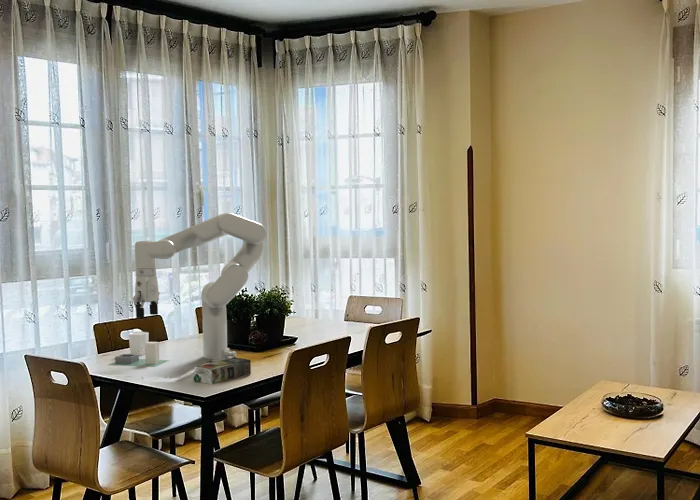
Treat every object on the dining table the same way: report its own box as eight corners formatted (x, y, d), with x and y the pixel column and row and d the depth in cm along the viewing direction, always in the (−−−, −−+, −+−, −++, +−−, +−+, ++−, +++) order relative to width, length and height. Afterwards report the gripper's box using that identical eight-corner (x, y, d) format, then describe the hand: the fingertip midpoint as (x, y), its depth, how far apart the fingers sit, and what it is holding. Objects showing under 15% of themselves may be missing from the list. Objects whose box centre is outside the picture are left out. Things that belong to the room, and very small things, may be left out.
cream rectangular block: (159, 362, 273) (158, 342, 272) (155, 364, 270) (155, 343, 269) (149, 362, 274) (148, 341, 273) (145, 363, 271) (145, 343, 270)
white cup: (143, 359, 286) (142, 335, 286) (125, 358, 288) (125, 334, 287) (152, 355, 294) (151, 332, 293) (135, 355, 295) (134, 331, 295)
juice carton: (209, 385, 241) (209, 368, 241) (191, 382, 247) (190, 365, 247) (251, 375, 257) (251, 359, 257) (233, 372, 263) (233, 356, 263)
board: (169, 364, 277) (169, 354, 276) (154, 370, 265) (154, 360, 265) (124, 362, 281) (123, 352, 281) (107, 368, 270) (107, 358, 269)
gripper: (142, 274, 263) (143, 319, 264) (165, 270, 280) (167, 313, 281) (124, 274, 265) (126, 319, 266) (149, 270, 282) (150, 312, 283)
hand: (147, 316), depth 273 cm, fingers open, 9 cm apart
